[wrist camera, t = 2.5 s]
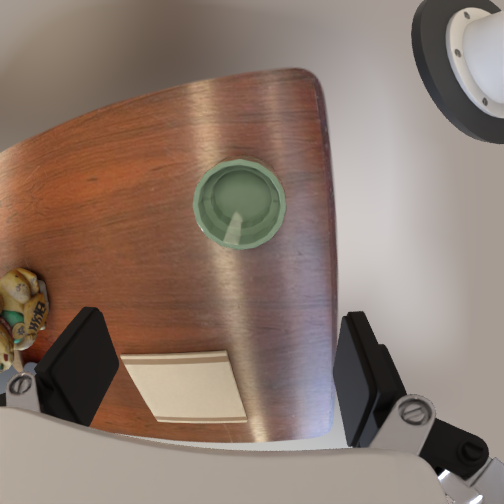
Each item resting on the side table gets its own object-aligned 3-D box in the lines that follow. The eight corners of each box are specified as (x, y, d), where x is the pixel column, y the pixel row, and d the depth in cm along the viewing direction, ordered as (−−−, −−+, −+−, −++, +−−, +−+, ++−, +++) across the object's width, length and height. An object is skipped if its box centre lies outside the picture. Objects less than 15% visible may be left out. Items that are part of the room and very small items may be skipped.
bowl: (276, 149, 25) (278, 153, 21) (287, 224, 27) (291, 242, 23) (197, 162, 25) (184, 169, 21) (213, 235, 28) (204, 254, 24)
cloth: (226, 350, 33) (226, 352, 33) (248, 420, 39) (247, 422, 38) (121, 353, 35) (119, 356, 34) (158, 419, 40) (157, 421, 40)
